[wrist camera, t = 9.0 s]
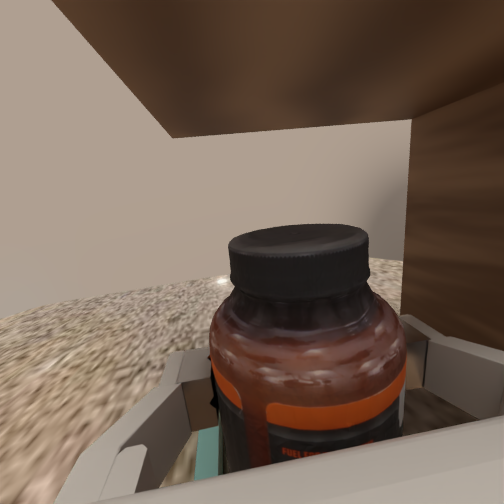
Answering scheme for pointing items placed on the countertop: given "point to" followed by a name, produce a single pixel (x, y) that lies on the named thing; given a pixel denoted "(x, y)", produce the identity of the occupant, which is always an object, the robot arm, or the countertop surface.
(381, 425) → the supplement bottle
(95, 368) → the countertop surface
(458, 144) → the wooden l-shaped bracket
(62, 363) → the countertop surface
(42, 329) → the countertop surface
